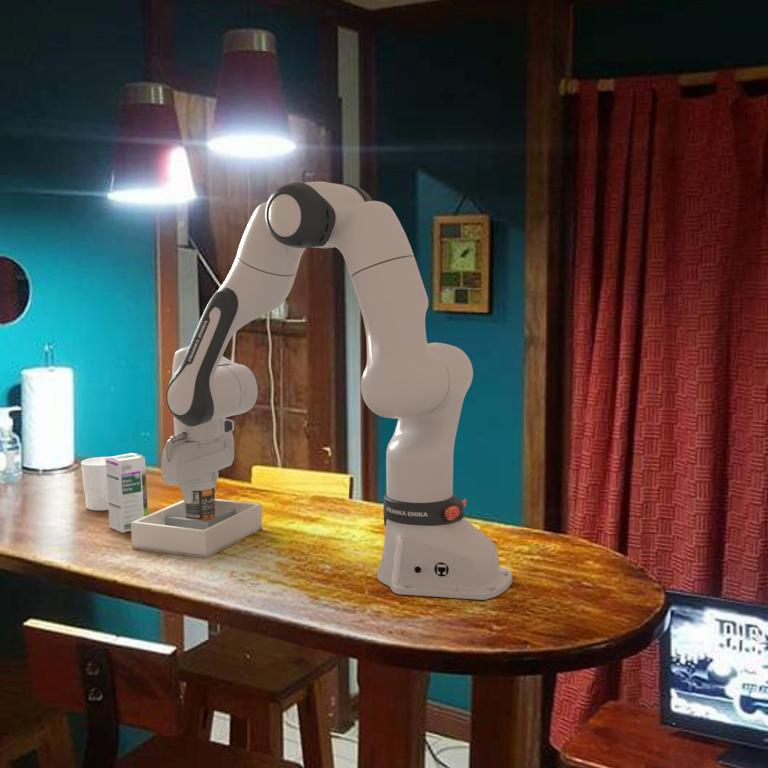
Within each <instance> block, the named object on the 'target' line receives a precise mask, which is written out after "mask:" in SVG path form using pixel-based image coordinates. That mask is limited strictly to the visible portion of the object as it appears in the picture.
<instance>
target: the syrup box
mask: <svg viewBox="0 0 768 768" xmlns="http://www.w3.org/2000/svg"><path fill="white" fill-rule="evenodd" d="M105 457H106V474H107V490H108V506H109V510H108V519H109V528H111V529H113V530H115V531H117V532H119V533H121V534H125V533H128V532H131V522H133V521H135V520H138V519H140V518H142V517H145V516H147V515H149V508H148V491H147V490H148V487H147V471H146V470H147V469H146V468H147V467H146V457H145V456H143V455H142V454H139V453H133V452H129V453H125V454H119V455H114V456H105Z"/></svg>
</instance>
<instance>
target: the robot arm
mask: <svg viewBox="0 0 768 768" xmlns="http://www.w3.org/2000/svg"><path fill="white" fill-rule="evenodd" d="M409 241H410V240H409V239H408V235H407V234H406V232H405V229H404V228H403V225H402V224H401V221H400V219H399V218H398V216H397V215H396V213H395V211H394V210H393V208H392V207H391V206H390V205H388V204H387V203H385V202H383V201H380V200H379V201H378V200H373V199H372V197H371V196H370V194H368V193H367V192H366V191H365V190H364V189H362V188H360V187H358V186H355V185H352V184H348V183H341V184H340V183H335V182H334V183H333V182H327V181H306V182H297V181H296V182H291V183H288V184H285V185H282V186H280V187H279V188H276V189H275V190H274V191H273V192H272V193H271V194H270V196H269V198H268V199H267V201H264V202H263V203H260V205H257V207H256V208H255V210H254V211H253V213H252V215H251V216H250V219H249V221H248V223H247V225H246V227H245V230H244V232H243V234H242V238H241V240H240V242H239V245H238V249H237V251H236V255H235V259H234V261H233V264H232V266H231V268H230V270H229V272H228V274H227V276H226V278H225V279H224V281H223V282H222V284H221V285H220V287H219V288H218V290H216V291H215V293H213V295H212V296H211V298H210V299H209V301H208V303H207V305H206V307H205V309H204V311H203V313H202V314H201V317H200V319H199V322H198V325H197V327H196V329H195V331H194V334H193V336H192V338H191V341H190V343H189V346H184V347H181V348H179V349H178V350H177V351H175V353H174V355H173V360H172V371H171V374H172V375H171V378H170V381H169V382H168V384H167V388H166V395H165V398H166V401H165V402H166V404H167V407H168V410H169V412H171V414H172V416H173V430H174V431H173V433H174V434H173V435H171V436H169V437H168V440H167V442H166V443H165V445H164V448H163V451H162V457H161V481H162V482H163V485H165V486H172V487H179V489H180V491H181V493H182V494H183V500H184V502H185V503H188V504H190V503H193V502H195V501H196V498H195V497H196V493H193V492H192V489H191V486H192V481H193V480H195V479H198V478H200V477H202V476H203V474H205V473H208V472H210V471H211V479H210V481H211V482H212V483H213V484H214V491H215V493H216V492H217V491H216V490H217V489H216V488H217V487H216V485H217V482H218V480H219V477H220V476H219V475H220V472H219V471H221V470H223V469H225V468H227V467H230V466H232V465H233V462H234V459H235V440H234V434H233V432H234V430H235V422H234V420H232V419H229V417H231V416H237V415H242V414H244V413H246V412H249V411H252V409H253V408H254V407H255V406H256V404H257V402H258V399H259V395H260V386H259V385H260V384H259V381H258V378H257V376H256V374H255V373H254V372H253V370H252V369H251V368H249V366H247V365H245V364H239V363H237V362H235V361H233V360H230V359H228V358H227V357H225V356H224V353H225V350H226V348H227V346H228V344H229V342H230V340H231V339H232V337H233V336H234V335H235V334H236V333H237V331H239V330H240V329H242V327H244V326H246V325H248V324H249V323H250V322H252V321H254V320H256V319H258V318H260V317H262V316H264V315H267V314H269V313H271V312H273V311H276V309H278V308H279V307H281V305H282V304H284V303H285V301H286V299H287V298H288V296H289V294H290V292H291V291H292V287H293V285H294V284H295V283H294V282H295V280H296V276H297V273H298V269H299V266H300V262H301V258H302V256H303V254H304V253H305V250H306V249H308V248H315V249H316V248H318V249H333V248H336V249H338V251H339V252H340V253H341V254H342V257H343V259H344V261H345V264H346V268H347V271H348V274H349V277H350V280H351V283H352V287H353V289H354V294H355V296H356V299H357V302H358V307H359V309H360V312H361V315H362V319H363V324H364V325H363V326H364V330H365V331H364V332H365V336H366V337H365V338H366V339H365V340H366V341H365V343H366V365H365V368H364V370H363V373H362V375H361V379H360V392H361V396H362V399H363V401H364V403H365V405H366V407H368V409H369V410H370V411H371V412H373V413H374V414H375V415H377V416H379V417H382V418H387V419H397V423H396V426H395V428H394V429H395V430H394V432H393V435H392V437H391V439H390V441H389V442H388V444H387V448H386V452H385V455H386V456H385V459H386V460H385V464H386V465H385V466H386V467H385V468H386V469H385V471H386V472H385V473H386V474H385V475H386V476H385V478H386V480H385V482H386V483H385V484H386V488H385V489H386V492H385V494H384V495H383V506H382V507H383V510H382V511H383V513H382V514H383V524H384V527H385V529H384V531H385V532H384V542H383V549H382V553H381V560H380V564H379V569H378V571H377V575H376V576H377V580H379V582H380V583H382V584H384V585H385V586H387V587H390V589H391V591H392V592H393V593H394V594H396V595H406V596H420V597H423V596H424V597H436V598H437V597H438V598H448V599H449V598H450V599H463V600H464V599H466V600H482V601H485V600H489V599H493V598H495V597H497V596H500V595H502V594H503V593H504V592H506V590H508V588H510V586H511V585H512V583H513V573H512V571H511V570H510V569H509V568H505V567H502V566H500V562H499V555H498V551H497V547H496V545H495V543H494V541H493V540H492V539H491V538H489V537H488V536H487V535H485V534H484V533H483V532H482V531H480V530H479V529H478V528H477V527H476V526H474V524H472V523H471V522H470V521H469V520H468V519H466V518H465V517H464V515H465V507H466V506H467V499H466V498H464V499H463V500H462V501H461V500H460V499H459V498H458V497H457V496H456V495H455V493H454V451H455V441H456V437H457V432H458V427H459V421H460V417H461V412H462V409H463V404H464V399H465V397H466V394H467V393H468V391H469V389H470V387H471V385H472V382H473V377H474V369H473V365H472V362H471V360H470V358H469V356H468V355H467V354H466V352H464V351H463V350H462V349H461V348H459V347H457V346H455V345H451V344H447V343H444V342H442V343H441V342H429V343H428V339H427V332H426V314H427V310H428V308H429V297H428V295H427V291H426V288H425V286H424V282H423V279H422V276H421V273H420V270H419V266H418V263H417V260H416V258H415V255H414V252H413V249H412V247H411V244H410V242H409Z"/></svg>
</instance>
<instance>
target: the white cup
mask: <svg viewBox="0 0 768 768" xmlns="http://www.w3.org/2000/svg"><path fill="white" fill-rule="evenodd" d="M106 457H107V456H99V457H98V456H97V457H90V458H86V459H83V460H82V461H81V463H80V464H81V472H82V473H81V474H82V485H83V493H84V497H85V507H86V509H87V510H90V511H96V512H99V511H109V506H108V490H107V474H106Z"/></svg>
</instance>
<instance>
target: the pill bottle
mask: <svg viewBox="0 0 768 768" xmlns="http://www.w3.org/2000/svg"><path fill="white" fill-rule="evenodd" d="M210 479H211V471H210V472H208V473H205V474H203V476H202V477H200V478H198V479H195V480H193V481H192V486H191V489H192V492H193V493H196V497H195V498H196V501H195V502H193V503H190V504H188V503H185V512H186V518H188V519H196V520H204V521H208V520H210V519H212V518H214V517H215V499H216V497H215V496H216V495H215V493H216V492H215V491H214V484H213V483H212V482H211V481H210Z"/></svg>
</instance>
